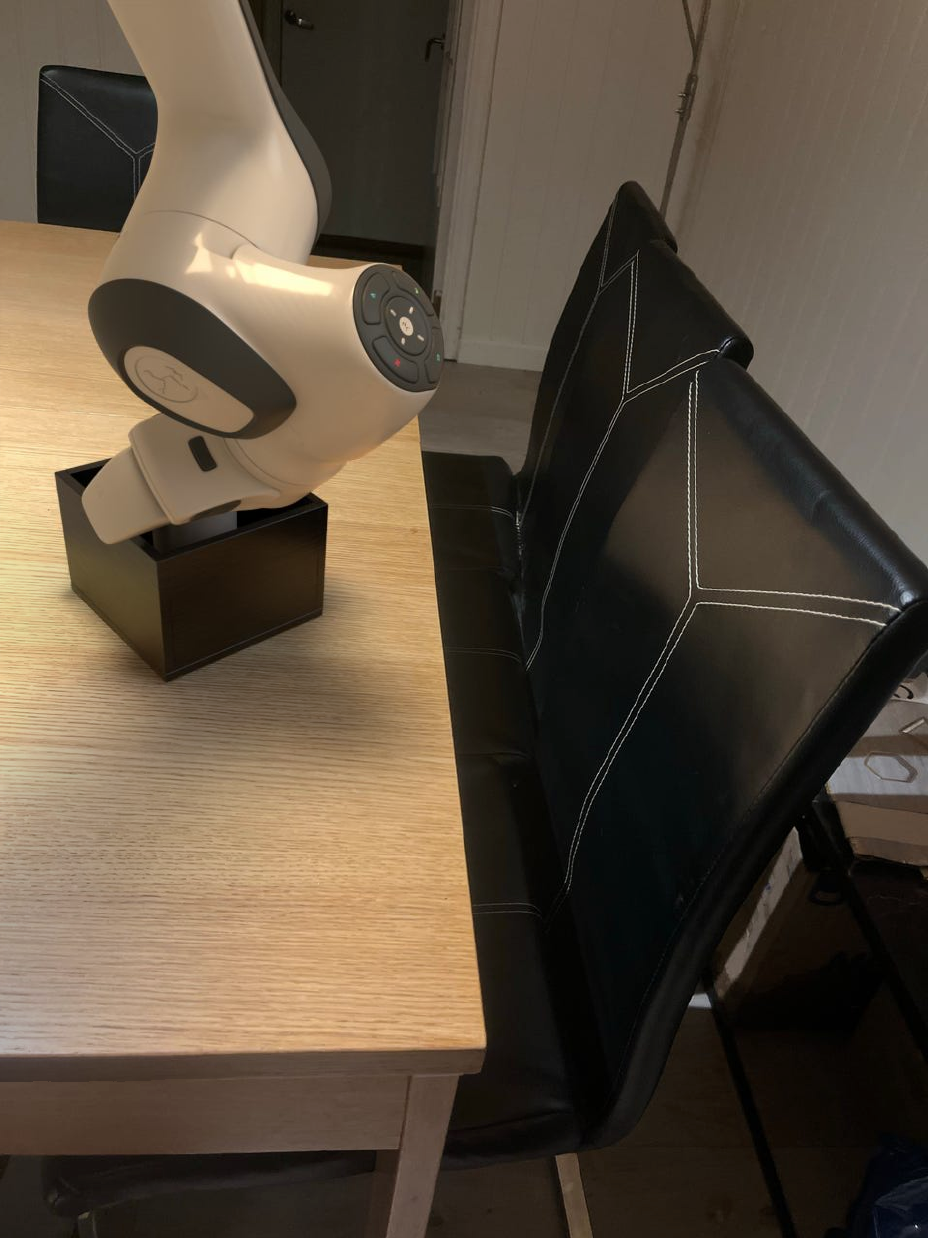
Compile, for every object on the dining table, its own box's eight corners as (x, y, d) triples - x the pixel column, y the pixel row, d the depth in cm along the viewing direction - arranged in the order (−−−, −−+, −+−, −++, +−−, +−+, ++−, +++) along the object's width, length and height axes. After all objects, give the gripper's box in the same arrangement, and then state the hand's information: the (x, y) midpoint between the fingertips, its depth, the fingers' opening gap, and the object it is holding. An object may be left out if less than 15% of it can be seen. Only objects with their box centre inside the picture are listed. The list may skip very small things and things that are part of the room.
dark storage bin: (166, 683, 67) (156, 562, 61) (71, 588, 75) (53, 471, 68) (322, 615, 76) (328, 503, 70) (224, 536, 84) (221, 429, 77)
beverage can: (149, 561, 75) (138, 427, 68) (228, 551, 78) (224, 421, 70) (164, 605, 70) (153, 467, 63) (246, 593, 73) (245, 459, 66)
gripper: (364, 363, 66) (277, 434, 77) (109, 430, 53) (45, 505, 64) (401, 441, 67) (310, 501, 77) (158, 527, 54) (87, 586, 64)
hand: (189, 503), depth 70 cm, fingers closed on beverage can, 6 cm apart
